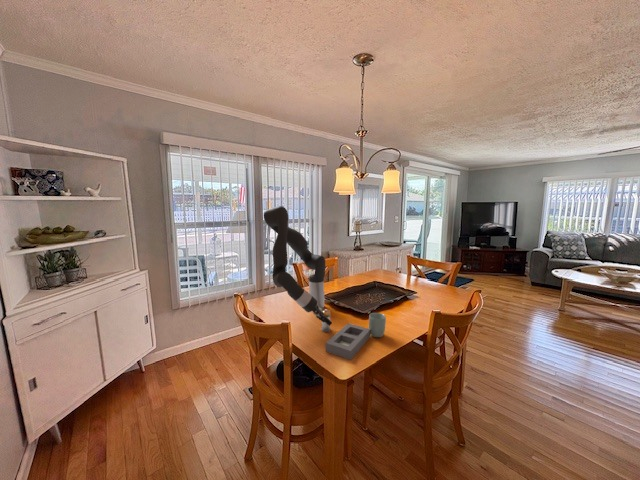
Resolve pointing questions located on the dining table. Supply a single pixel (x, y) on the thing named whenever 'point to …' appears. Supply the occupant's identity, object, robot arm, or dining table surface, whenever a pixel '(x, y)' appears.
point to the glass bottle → (324, 326)
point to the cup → (377, 324)
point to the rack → (348, 341)
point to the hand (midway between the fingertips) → (329, 321)
